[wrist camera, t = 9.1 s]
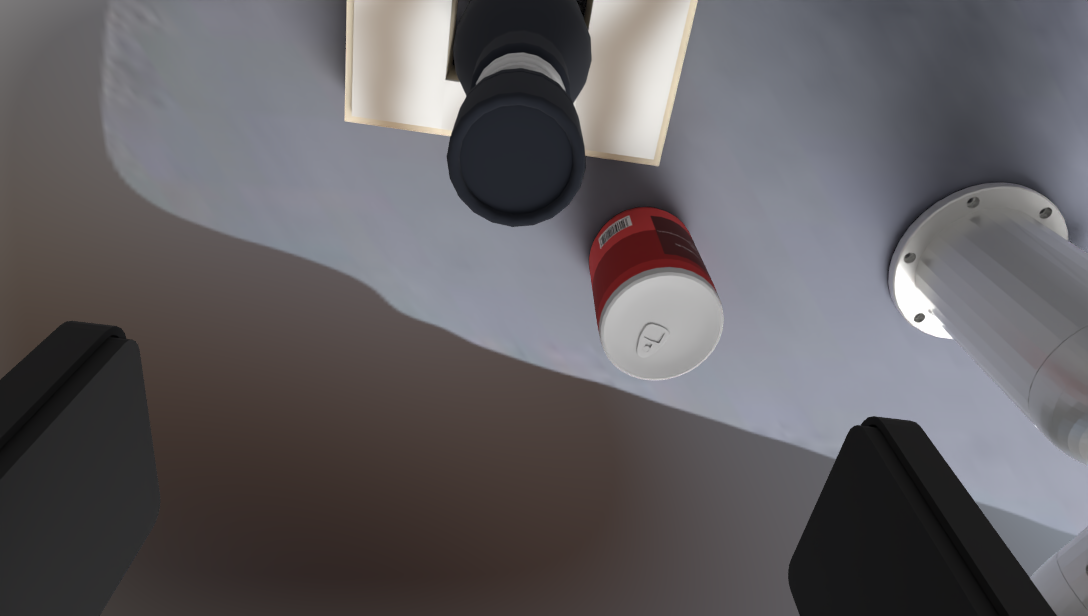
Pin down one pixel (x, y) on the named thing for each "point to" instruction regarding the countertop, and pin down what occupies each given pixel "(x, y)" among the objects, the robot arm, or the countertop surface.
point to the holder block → (436, 94)
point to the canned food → (653, 295)
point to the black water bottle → (519, 108)
